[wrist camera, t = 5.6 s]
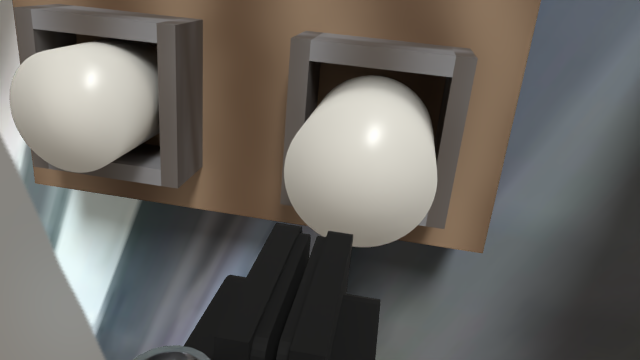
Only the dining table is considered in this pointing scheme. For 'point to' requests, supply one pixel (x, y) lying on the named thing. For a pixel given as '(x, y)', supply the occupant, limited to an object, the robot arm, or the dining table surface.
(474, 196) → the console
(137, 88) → the knob
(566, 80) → the dining table surface
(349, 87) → the knob
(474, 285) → the dining table surface
